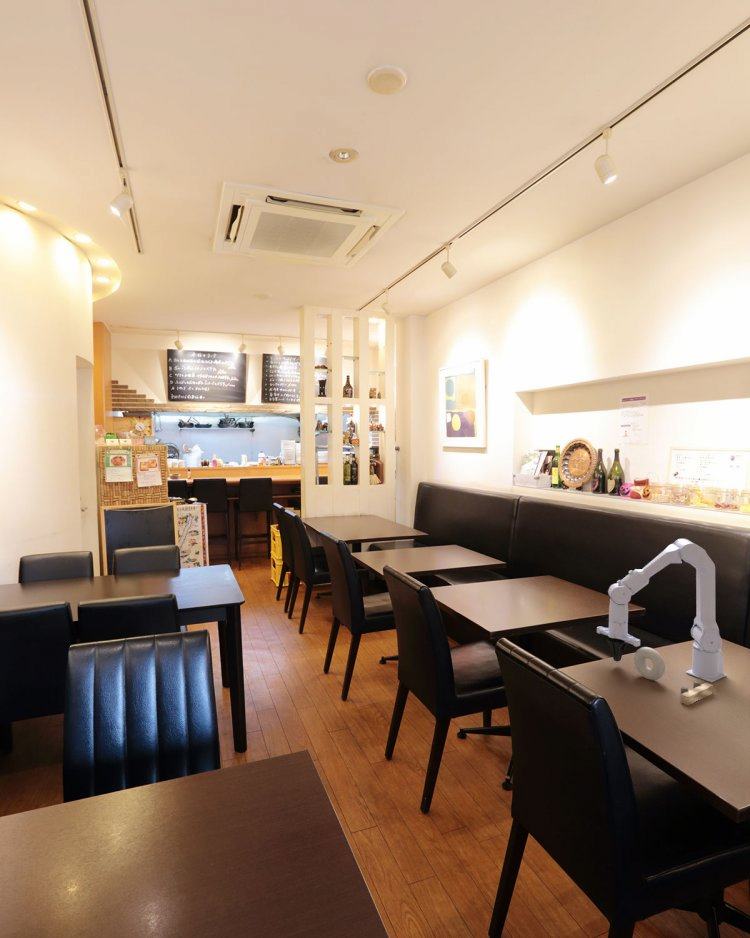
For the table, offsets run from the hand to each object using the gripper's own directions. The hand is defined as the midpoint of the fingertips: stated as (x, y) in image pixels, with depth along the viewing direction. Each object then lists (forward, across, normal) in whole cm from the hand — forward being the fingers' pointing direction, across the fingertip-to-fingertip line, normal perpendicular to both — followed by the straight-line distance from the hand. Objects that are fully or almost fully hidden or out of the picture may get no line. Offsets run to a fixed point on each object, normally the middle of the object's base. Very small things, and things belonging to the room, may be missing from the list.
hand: (617, 660), depth 175 cm
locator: (+2, +25, 0) cm, 25 cm away
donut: (+2, +11, 0) cm, 11 cm away
